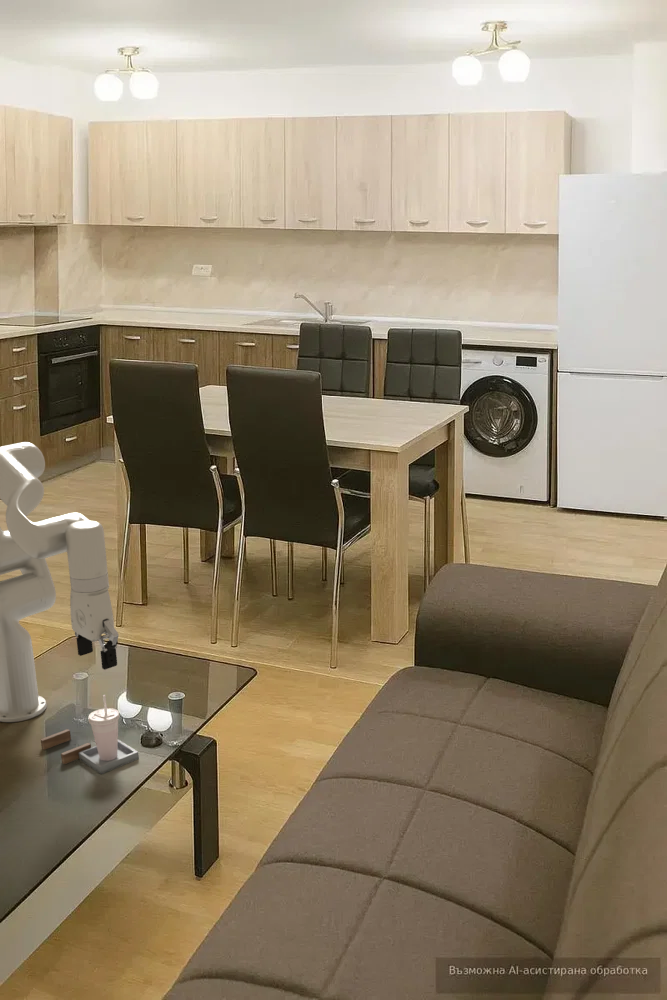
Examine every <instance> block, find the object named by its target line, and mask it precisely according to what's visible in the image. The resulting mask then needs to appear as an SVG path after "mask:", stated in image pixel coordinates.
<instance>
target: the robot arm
mask: <svg viewBox="0 0 667 1000" xmlns="http://www.w3.org/2000/svg"><path fill="white" fill-rule="evenodd" d="M45 469H46V461H45V457H44V454H43V452H42V450H41V449H39V447H38V446H37V445H35V444H34V443H31V442H29V441H22V442H17V443H11V444H6V445H2V446H0V500H1V501H2V502H3V503H4V504H5V505H6V506H7V507H6V510H5V523H6V527H7V529H5V530H2V528H1V527H0V576H1V575H5V574H8V573H11V572H15V571H20V572H21V575H18V576H14V577H9V578H6V579H3V580H0V722H1V723H16V722H17V723H18V722H22V721H26V720H30V719H33V718H35V717H38V716H39V715H41V714H42V713H44V711H45V710H46V708H47V700H46V699H45V698H44V697H43V696H40V695H39V689H38V682H37V673H36V664H35V658H34V648H33V642H32V641H33V640H32V637H31V634H30V632H29V631H28V630H27V629H26V628H25V627H24V626H22V625H21V624H20V621H21V620H22V619H25V618H28V617H30V616H34V615H36V614H39V613H42V612H45V611H48V610H49V609H51V608H53V606H54V605H55V603H56V600H57V592H56V587H55V583H54V580H53V577H52V575H51V572H50V568H49V565H48V562H47V559H46V558H51V557H54V556H56V555H60V554H64V553H66V555H67V563H68V570H69V571H68V572H69V582H70V598H69V601H70V605H69V606H70V607H69V608H70V621H71V623H70V624H71V629H72V631H73V632H74V636H75V637H76V647H77V655H78V656H79V657H81V656H84V655H89V654H91V653H93V652H94V648H93V643H95V642H98V643H99V645H100V646H99V647H100V648H101V651H100V658H101V659H100V660H101V668H102V670H105V671H106V670H109V669H111V668H113V667H116V666H117V665H118V659H117V648H118V643H119V641H118V639H119V632H118V631H117V629H116V628H115V622H114V614H113V607H112V601H111V597H110V593H109V592H110V591H109V589H110V582H109V581H110V580H109V571H108V561H107V551H106V550H107V548H106V540H105V539H106V538H105V531H104V527H103V524H102V523H100V522H98V521H96V520H90V519H89V518H88V517H86V516H85V514H83V513H81V512H75V511H74V512H68V513H65V514H62V515H57V516H53V517H48V518H46V519H41V520H38V521H35V522H34V521H32V520H30V519H29V518H28V517H27V516H28V515H30V514H31V513H32V512H33V511H34V510H35V509H36V508H38V506H39V505H41V502H42V500H43V499H44V495H45V487H44V484H43V483H42V481H41V480H40V479H39V477H42V475H43V474H44V471H45ZM105 640H107V642H106V643H105Z"/></svg>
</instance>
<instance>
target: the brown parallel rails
mask: <svg viewBox="0 0 667 1000" xmlns="http://www.w3.org/2000/svg"><path fill="white" fill-rule="evenodd" d="M71 740H72V737H71V730H70V729H68V728H66V729H64V730H62V731H59V732H56V733H53V734H51V735H48V736H45V737H43V738H41V739H40V746H41V750H43V751H46V750H48V749H50V748H53V747H55V746H58V745H60V744H63V743H66V742H69V741H71ZM91 747H92V744H91V743H90V742H87V743H84V744H81V745H79V746H76V747H74V748H71V749H69V750H66V751H64V752H61V754H60V757H61V764H63V765H67V764H70V763H72V762H74V761H76V760H80V759H79V752H81V751H83V750H86V749H89V748H91Z"/></svg>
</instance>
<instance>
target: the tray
mask: <svg viewBox="0 0 667 1000" xmlns="http://www.w3.org/2000/svg"><path fill="white" fill-rule="evenodd" d="M139 755H140V754H139V751H138V750H136V749H134V748H133V747H132V746H129V745H128V744H126V743H125V742H124V741H121V739H118V749H117V757H116V758H115V759H113V760H110V761H103V760H100V758H99V754H98V750H97V746H96V745H94V746H91V748H89V749H86V750H83V751H81V752H79V759H78V760H80V761H81V762H83V763H84V764H85V765H87V767H90V769H91V768H92V769H93V770H94V771H96V772H97V773H99V774H100V775H103V774H105V773H108V772H110V771H113V770H115V769H118V768H120V767H122V766H124V765H126V764H127V765H128V764H129V763H132V762H134V761H137V760H139V757H140V756H139Z"/></svg>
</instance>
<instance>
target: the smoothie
mask: <svg viewBox="0 0 667 1000" xmlns="http://www.w3.org/2000/svg"><path fill="white" fill-rule="evenodd" d="M102 702H103V708H100V709H96V710H94V711H92V712H90V713H89V714H88V723H89V724H90V727H91V730H92V733H93V738H94V741H95V746H97V750H98V754H99V758H100V760H103V761H110V760H113V759H115V758H116V757H117V749H118V738H119V737H118V736H119V719H120V712H119V710H118V709H115V708H112V707H111V708H110V707H109V708H108V707H107V697H106V694H102Z"/></svg>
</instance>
